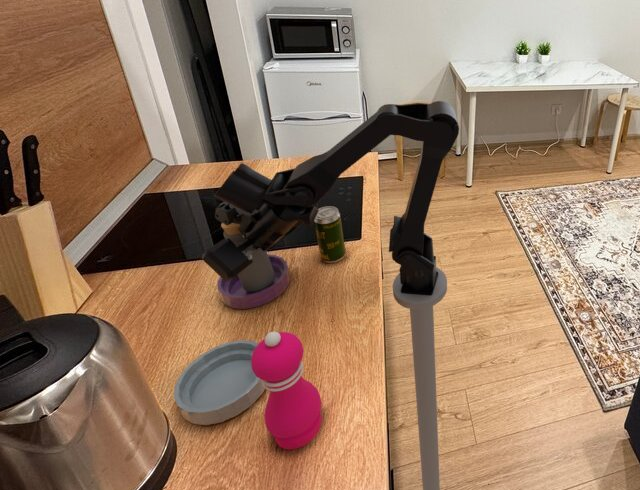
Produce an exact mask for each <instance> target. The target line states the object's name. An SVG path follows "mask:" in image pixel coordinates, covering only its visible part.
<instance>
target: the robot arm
mask: <svg viewBox="0 0 640 490" xmlns="http://www.w3.org/2000/svg"><path fill="white" fill-rule="evenodd" d="M459 134H460V126H459V122H458V117H457V114H456V110H455V109H454V107H453V106H452V105H451V104H450V103H448V102H446V101H442V100H436V101H433V102H431V103H424V102H414V103H413V102H412V103H406V104H393V103H387V104H382V106H380V107H379V108H378V109H377V110H376V112H375V113H373V114H372V115H371V116H370V117H368V119H366V120H364V121H363V122H362V123H361V124H360V125H359V126H358V127H356V128H355V129H354V130H352V131H351V132H350V133H349V134H347V135H346V136H345V137H343V138H342V139H341V140H340V141H338V142H337V143H336V144H335V145H334V146H332V147H330V149H329V150H327V151H325V152H323V153H321V154H317V155H314V156H312V157H310V158H308V159H307V160H305V161H304V160H303V162H300V163H299V164H297V166H295V167H294V168H290V169H286V170H282V171H277V172H276V173H275V174H274V176H273V177H272V178H269V177H267V176H266V175H263V174H262V173H260V172H257V171H256V170H254V169H253V168H251V166H249V165H247V164H245V163H243V162H242V163H240V164H239V165H238V166H237V167H236V168H235V170H232V172H231V173H230V174H229V176H228V177H227V178H226V180H225V181H224V182H223V183H222V185H221V186H220V187H219V188H218V190H217V191H216V193H214V195H213V197H214V198H216V199H218V200H221V201H222V202H221V203H219V204H218V206H217V207H216V208H215V213H214V218H215V219H216V220H217V221H219V222H220V223H221V224H222V223H223V224H225V225H230V224H231V223H235V224H239V225H241V226H240V227H239V228H238V230H239V231H240V232H241V233H242V234H244V233H246V234H244V235H243V238H244V239H246V240H247V241H246V242H244V243H243V244H242V245H240V244H238V245H236V244H234V243H233V242H232V241H231V240H230V239H229V238H228V239H225V238H223V239H221V240H219V241H218V242H217V243H215V244H214V245H212V246H211V247H209V248H207V249H206V250H205V251H204V253H202V257H201V260H202V261H203V262H204V263H205V264H206V265H207V266H209V268H211V270H213V271H214V272H215V273H216V274H217V275H218V276H219V278H220V277H221V278H222V279H224V280H226V281H230V280H231V279H233V278H234V277H235V276H236V275H238V274H239V273H240V272H242V271H243V270H244V269H245V268H246V267H248V266H249V265H250V264H251V263H253V261H252V260H251V258H252V253H253V252H255V251H256V250H257V249H259V248H261V249H262V250H263V251H265V250H266V251H267V250H269V248H271V247H272V246H273V245H274V244H276V243H277V242H279V241H280V240H283V239H285V238H286V237H288V236H289V235H290V234H291V233H293V232H294V231H296V230H297V229H298V228H300V227H301V226H302V225H305V226H307V227H312V225H314V220H315V218H316V216H317V214H318V212H319V211H318V209H319V208H317V207H316V206H317V205H318V203H320V202H321V200H322V199H323V198H324V197H325V196H326V195H327V194H328V192H329V191H330V190H331V188H333V185H335V183H336V182H337V180H338V178H339V177H341V175H342V174H343V173H344V172H346V171H347V170H348V169H350V168H351V167H352V166H354V165H355V164H356V163H357V162H358V161H360V160H361V159H363V157H365V156H366V155H367V154H368V153H370V152H371V151H372V150H374V149H375V148H376V147H377V146H379V145H380V144H381V143H383V142H384V141H385V140H387V138H389V137H390V136H399V137H403V138H406V139H410V140H413V141H416V142H421V150H420V154H419V157H418V162H417V165H416V169H415V173H414V176H413V181H412V185H411V188H410V192H409V197H408V200H407V204H406V207H405V212H404V213H403V214H402V215H401V216H397V215H394V216H393V225H392V227H391V228H390V230H389V242H388V253H391V259H392V261H393V262H395V263H396V264H398V265H400V267H399V273H400V282H401V284H403V285H402V288H401V293H405V294H417V295H429V296H431V295H432V294H433V292H434V288H435V285H436V281H437V278H438V272H436V267H437V256H436V255H435V254H434V243H433V242H434V240H433V237H431V236H430V235H428V234H427V233H425V223H426V220H427V217H428V213H429V209H430V206H431V202H432V199H433V195H434V192H435V188H436V184H437V181H438V177H439V174H440V171H441V167H442V164H443V161H444V159H445V158H446V157H447V155H448V154H449V153H450V152H451V151H452V148H453V146H454V144H455V142H456V141H457V139H458V137H459ZM251 245H254V246H252V247H250V246H251ZM248 247H250V248H249V249H248V250H246V249H247V248H248Z"/></svg>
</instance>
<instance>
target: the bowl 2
mask: <svg viewBox="0 0 640 490" xmlns="http://www.w3.org/2000/svg"><path fill="white" fill-rule="evenodd" d="M258 344H259V342H256V341H254V340H248V339H247V340H246V339H245V340H244V339H240V340H233V341H227V342H225V343H222V344H219V345H217V346H214V347H212V348H211V349H209V350H207V351H205V352H203V353H202V354H200V355H199V356H197V357H196V358H195V359H194V360H193V361H191V362H190V363H189V364H188V365H187V366H186V368H185V369H184V370H183V371H182V372H181V373H180V374H179V377H178V379H177V381H176V382H175V385H174V388H173V389H174V391H173V400H174V402H175V404H176V406H177V408H178V409H179V412H180V414H181V416H182V418H183V419H184V420H185V421H187V422H189V423H191V424H193V425H203V426H209V425H214V424H220V423H223V422H225V421H228V420H231V419H232V418H234V417H236V416H239V415H240V414H241V413H243V412H244V411H246V410H248V408H250V407H251V406H252V405H254V404H255V402H256V401H257V400H258V399H259V398H260V397H261V396H262V395H263V394H264V392H265V390H266V389H265V388H264V387H263V385H262V381H261V379H260V378H258V377H256V375H255V374H254V372H253V370H252V367H251V358H252V354H253V351H254V349H255V348H256V346H257V345H258Z"/></svg>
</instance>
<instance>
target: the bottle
mask: <svg viewBox="0 0 640 490" xmlns="http://www.w3.org/2000/svg"><path fill="white" fill-rule="evenodd" d="M240 226H241V225H239V224H235V223H231V224H230V225H225V224H223V223H222V222H221V224H220V227H221V228H222V229H223V237H224V239H228V238H229V239H230V240H231V241H232V242H233V243H234V244H236V245H238V244H240V245H242V244H243V243H244V242H246V241H247V240H246V239H244V238H243V235H244V234H246V233H244V234H242V233H241V232H240V231H239V230H238V228H239V227H240ZM252 246H254V245H251V246H250V247H252ZM250 247H248V248H247V249H246V250H248V249H249V248H250ZM268 254H269V253H268V252H267V250H265V251H263V250H262V249H261V248H259V249H257V250H256V251H255V252H253V253H252V258H251V260H252V261H253V263H251V264H250V265H249V266H248V267H246V268H245V269H244V270H243V271H242V272H240V273H239V274H238V277H239V279H240V282H241V284H242V286H243V288H244V290H245V291H248V292H255V291H259V290H262V289H264V288H266V287H268V286H269V285H270V284H272V282H273V281H274V280H275V273H274V270H273V268H272V265H271V262H270V259H269V256H268Z"/></svg>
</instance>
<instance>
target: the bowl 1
mask: <svg viewBox="0 0 640 490" xmlns="http://www.w3.org/2000/svg"><path fill="white" fill-rule="evenodd" d="M267 254H268V256H269V259H270V262H271V265H272V268H273V270H274V273H275V280H274V281H273V282H272V284H270V285H269V286H268V287H266V288H264V289H262V290H259V291H255V292H248V291H245V290H244V288H243V286H242V284H241V282H240V279H239V277H238V275H236V276H235V277H234V278H233V279H231V280H230V281H226V280H224V279H222V278H221V277H220V276H219V277H218V280H217V283H216V285H217V291H218V294H219V296H220V299H221V301H222V303H223V304H224V305H225V306H227V307H229V308H231V309H238V310H246V309H252V308H253V309H254V308H257V307H259V306H262V305H266V304H267V303H269V302H271V301H273V300H275V299H276V298H278V297H279V296H280V295H282V293H284V292H285V291H286V289H287V288H288V287H289V284H290V281H291V275H290V274H291V273H290V269H289V266H288V262H287V261H286V259H284V258H283V257H282V256H280V255H277V254H269V253H267Z"/></svg>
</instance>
